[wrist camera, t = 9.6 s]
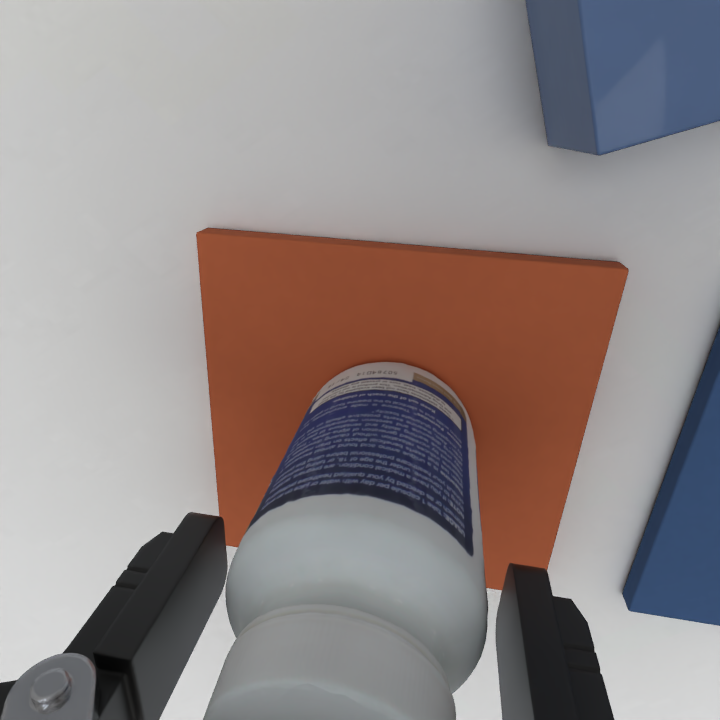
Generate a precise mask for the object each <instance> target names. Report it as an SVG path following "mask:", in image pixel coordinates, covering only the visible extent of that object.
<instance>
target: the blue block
mask: <svg viewBox="0 0 720 720" xmlns="http://www.w3.org/2000/svg"><path fill="white" fill-rule="evenodd" d="M525 1H526V7H527V14H528V20H529V26H530V33H531V39H532V45H533V52H534V58H535V64H536V71H537V77H538V84H539V90H540V96H541V103H542V109H543V115H544V122H545V128H546V134H547V141H548V145H549V146H553V147H558V148H563V149H568V150H573V151H579V152H584V153H589V154H594V155H603V154H607V153H610V152H614V151H617V150H621V149H624V148H628V147H631V146H634V145H638V144H641V143H645V142H648V141H652V140H655V139H659V138H662V137H665V136H669V135H672V134H676V133H679V132H683V131H686V130H690V129H693V128H696V127H700V126H703V125H707V124H710V123H714V122H717V121H720V0H525Z"/></svg>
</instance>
